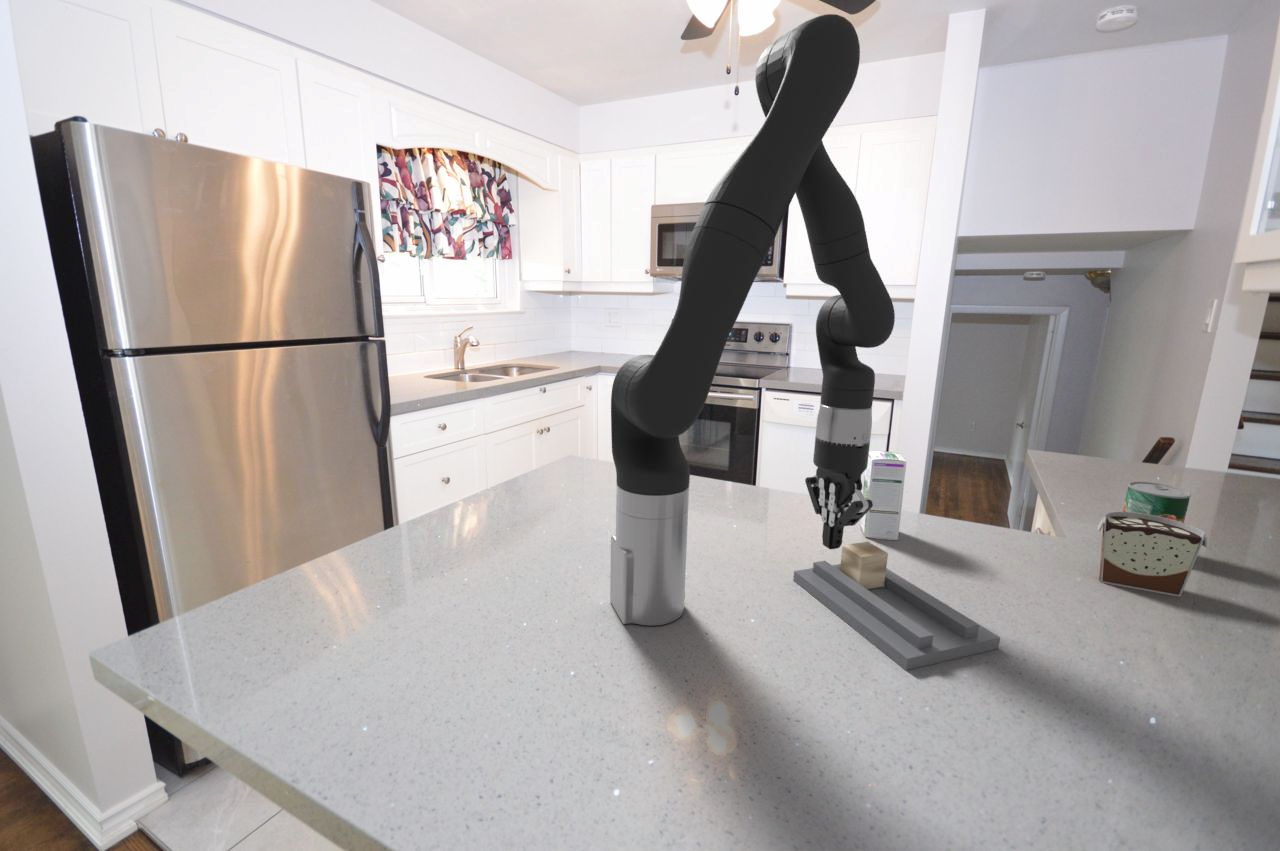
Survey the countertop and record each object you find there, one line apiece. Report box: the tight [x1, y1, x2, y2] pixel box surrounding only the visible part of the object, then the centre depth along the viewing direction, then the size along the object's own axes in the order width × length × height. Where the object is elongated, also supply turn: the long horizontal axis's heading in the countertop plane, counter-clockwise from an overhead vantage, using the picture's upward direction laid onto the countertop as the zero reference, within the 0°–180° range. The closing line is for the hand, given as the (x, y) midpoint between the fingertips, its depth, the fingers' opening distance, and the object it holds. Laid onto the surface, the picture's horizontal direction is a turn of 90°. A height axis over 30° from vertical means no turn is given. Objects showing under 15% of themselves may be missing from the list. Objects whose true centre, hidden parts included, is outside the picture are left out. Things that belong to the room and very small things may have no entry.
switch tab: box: [839, 541, 889, 589], centre depth 80 cm, size 4×4×5 cm
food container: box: [1097, 511, 1208, 598], centre depth 86 cm, size 12×6×10 cm, turn 65°
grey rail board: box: [793, 560, 1001, 671], centre depth 76 cm, size 22×14×3 cm, turn 19°
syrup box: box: [859, 450, 907, 541], centre depth 101 cm, size 6×6×14 cm
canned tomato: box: [1122, 481, 1192, 523], centre depth 97 cm, size 8×8×11 cm
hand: (831, 546), depth 87 cm, fingers closed
